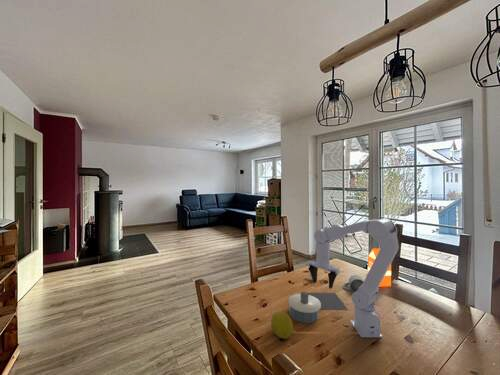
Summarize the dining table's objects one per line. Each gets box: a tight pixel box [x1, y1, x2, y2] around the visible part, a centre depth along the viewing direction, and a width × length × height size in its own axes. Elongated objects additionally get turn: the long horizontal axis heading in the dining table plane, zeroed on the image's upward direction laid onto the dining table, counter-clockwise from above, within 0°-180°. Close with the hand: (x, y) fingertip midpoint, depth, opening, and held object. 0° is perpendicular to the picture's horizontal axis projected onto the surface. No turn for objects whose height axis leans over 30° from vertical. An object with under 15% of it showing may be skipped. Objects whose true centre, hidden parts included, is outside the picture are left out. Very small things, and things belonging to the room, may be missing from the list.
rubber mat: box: [307, 292, 349, 311], centre depth 106 cm, size 15×15×1 cm
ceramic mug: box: [342, 274, 364, 293], centre depth 118 cm, size 11×8×8 cm
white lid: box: [288, 291, 321, 313], centre depth 95 cm, size 14×14×4 cm
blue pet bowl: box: [288, 305, 320, 324], centre depth 95 cm, size 12×12×5 cm
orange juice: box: [367, 248, 392, 288], centre depth 125 cm, size 8×9×20 cm
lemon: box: [270, 310, 294, 340], centre depth 83 cm, size 11×8×8 cm
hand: (322, 285), depth 101 cm, fingers open, 7 cm apart
